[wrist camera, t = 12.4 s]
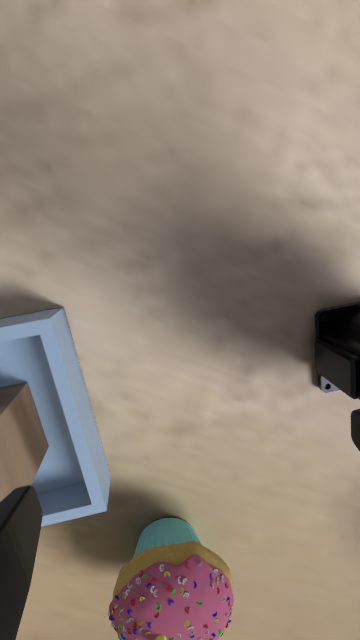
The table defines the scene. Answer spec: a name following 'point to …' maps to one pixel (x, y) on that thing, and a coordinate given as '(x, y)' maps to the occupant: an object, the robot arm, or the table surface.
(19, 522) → the robot arm
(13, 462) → the block
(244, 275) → the table surface
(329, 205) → the table surface
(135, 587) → the cupcake
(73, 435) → the tray
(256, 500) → the table surface
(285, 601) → the table surface
